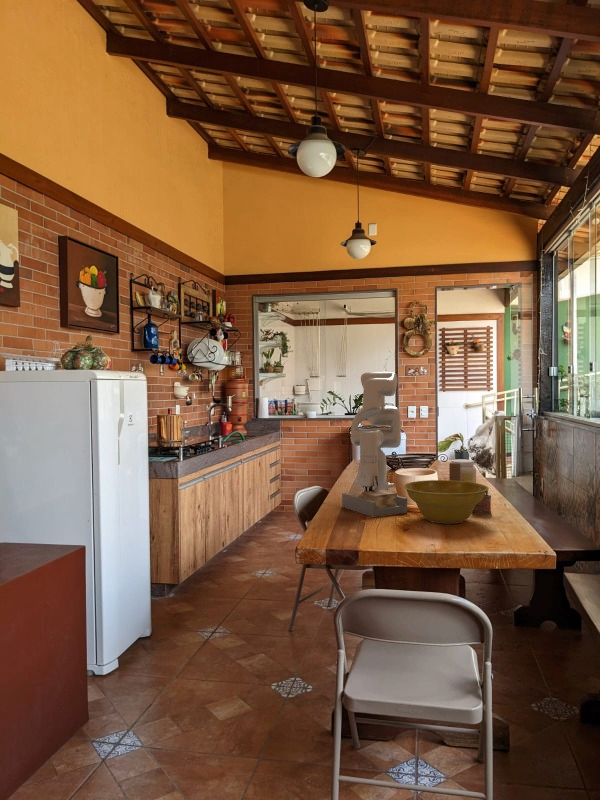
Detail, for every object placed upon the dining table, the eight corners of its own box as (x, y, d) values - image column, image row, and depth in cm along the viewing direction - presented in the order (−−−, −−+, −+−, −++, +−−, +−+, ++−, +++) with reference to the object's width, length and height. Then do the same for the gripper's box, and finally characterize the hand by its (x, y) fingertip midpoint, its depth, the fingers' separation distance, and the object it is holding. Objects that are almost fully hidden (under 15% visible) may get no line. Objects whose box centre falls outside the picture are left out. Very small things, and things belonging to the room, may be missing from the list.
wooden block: (471, 503, 253) (471, 463, 252) (470, 505, 249) (470, 464, 248) (450, 502, 256) (450, 462, 255) (449, 504, 252) (449, 463, 251)
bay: (374, 502, 256) (374, 489, 256) (407, 512, 235) (407, 498, 235) (342, 506, 248) (342, 493, 248) (373, 517, 227) (373, 502, 227)
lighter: (491, 513, 233) (491, 488, 233) (490, 514, 230) (490, 490, 230) (471, 511, 237) (471, 487, 236) (470, 513, 234) (470, 488, 233)
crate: (384, 504, 245) (384, 489, 245) (397, 508, 236) (397, 493, 236) (362, 507, 239) (362, 492, 239) (375, 511, 231) (375, 495, 231)
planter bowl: (390, 514, 233) (389, 481, 233) (460, 509, 242) (460, 477, 241) (427, 533, 202) (427, 495, 202) (506, 526, 211) (506, 490, 210)
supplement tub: (456, 492, 279) (456, 458, 278) (480, 495, 271) (480, 460, 271) (444, 496, 270) (444, 460, 269) (469, 499, 262) (469, 463, 261)
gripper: (351, 458, 249) (352, 500, 249) (371, 462, 236) (371, 506, 236) (366, 457, 253) (366, 498, 253) (386, 460, 239) (386, 504, 240)
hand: (368, 502), depth 245 cm, fingers closed
